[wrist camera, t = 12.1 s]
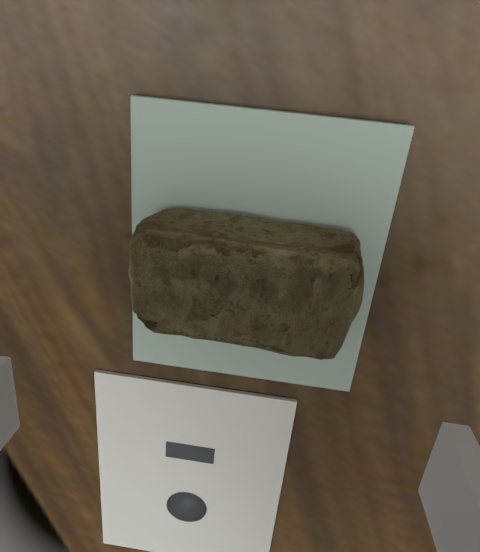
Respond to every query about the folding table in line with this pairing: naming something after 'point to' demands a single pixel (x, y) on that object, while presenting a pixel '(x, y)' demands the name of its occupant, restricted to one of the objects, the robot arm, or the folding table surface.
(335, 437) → the folding table surface
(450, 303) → the folding table surface
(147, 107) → the sage pad
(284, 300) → the stone block
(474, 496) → the robot arm
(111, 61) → the folding table surface
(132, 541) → the board
